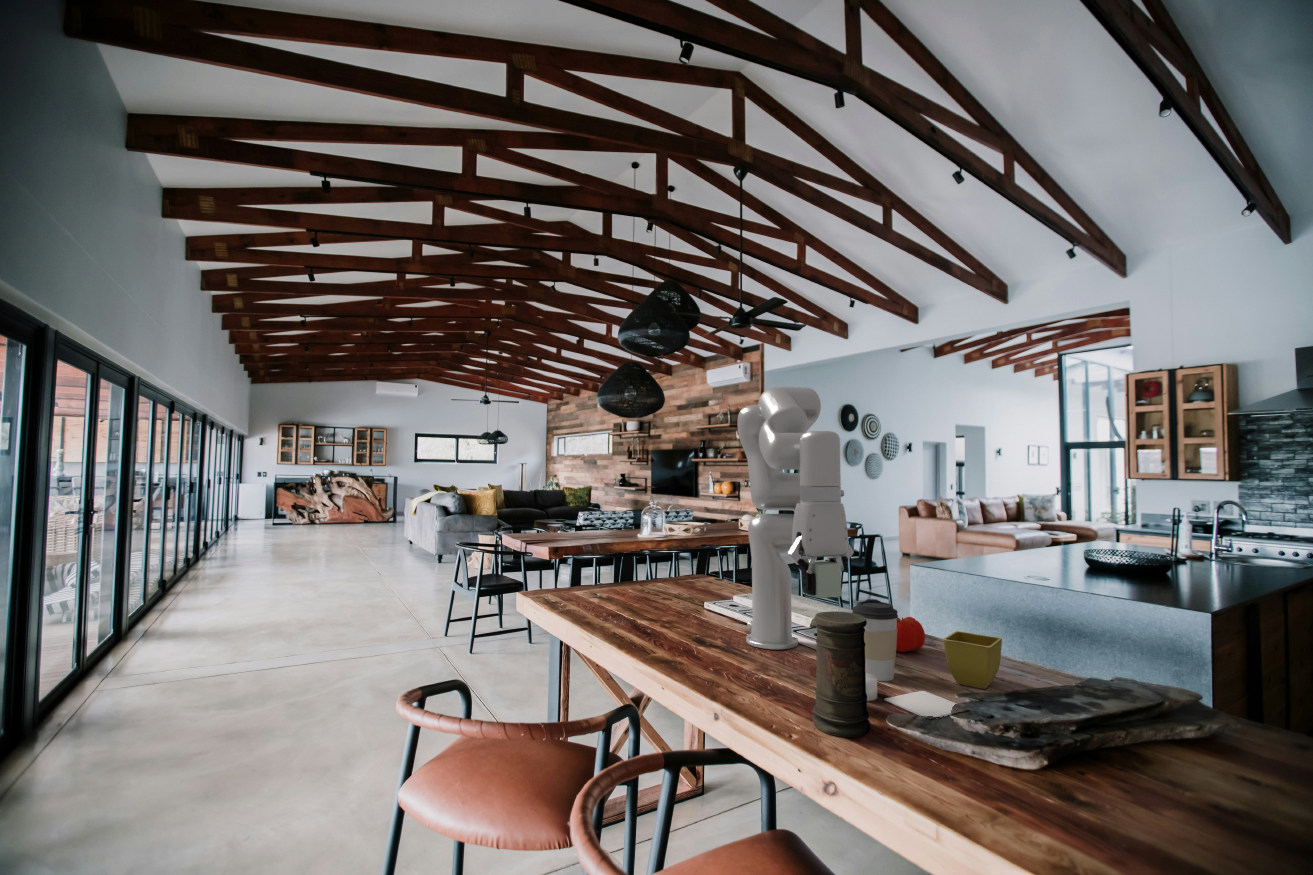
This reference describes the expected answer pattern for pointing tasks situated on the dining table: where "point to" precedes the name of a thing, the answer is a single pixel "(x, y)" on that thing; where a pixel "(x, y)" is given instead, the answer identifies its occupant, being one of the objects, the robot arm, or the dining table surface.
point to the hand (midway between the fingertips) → (821, 591)
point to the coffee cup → (879, 637)
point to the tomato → (909, 635)
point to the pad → (923, 704)
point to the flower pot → (973, 658)
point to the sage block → (827, 579)
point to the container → (841, 675)
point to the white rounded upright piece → (871, 687)
